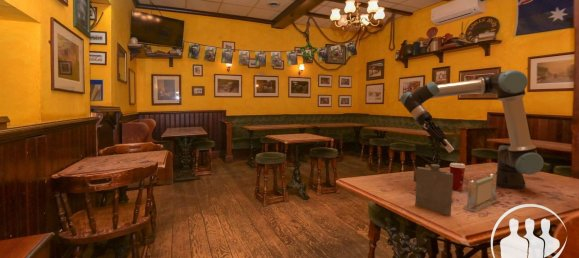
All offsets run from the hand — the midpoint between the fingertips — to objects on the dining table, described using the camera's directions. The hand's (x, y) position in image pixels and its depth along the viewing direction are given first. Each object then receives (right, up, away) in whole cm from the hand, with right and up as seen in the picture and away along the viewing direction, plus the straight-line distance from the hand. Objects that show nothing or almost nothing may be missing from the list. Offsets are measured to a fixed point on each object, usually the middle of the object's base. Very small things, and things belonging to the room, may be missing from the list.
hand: (451, 150), depth 146 cm
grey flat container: (0, -21, +32) cm, 38 cm away
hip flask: (-18, -25, -17) cm, 35 cm away
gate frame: (+8, -24, -10) cm, 27 cm away
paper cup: (+10, -22, +14) cm, 28 cm away
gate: (+8, -23, -11) cm, 26 cm away
